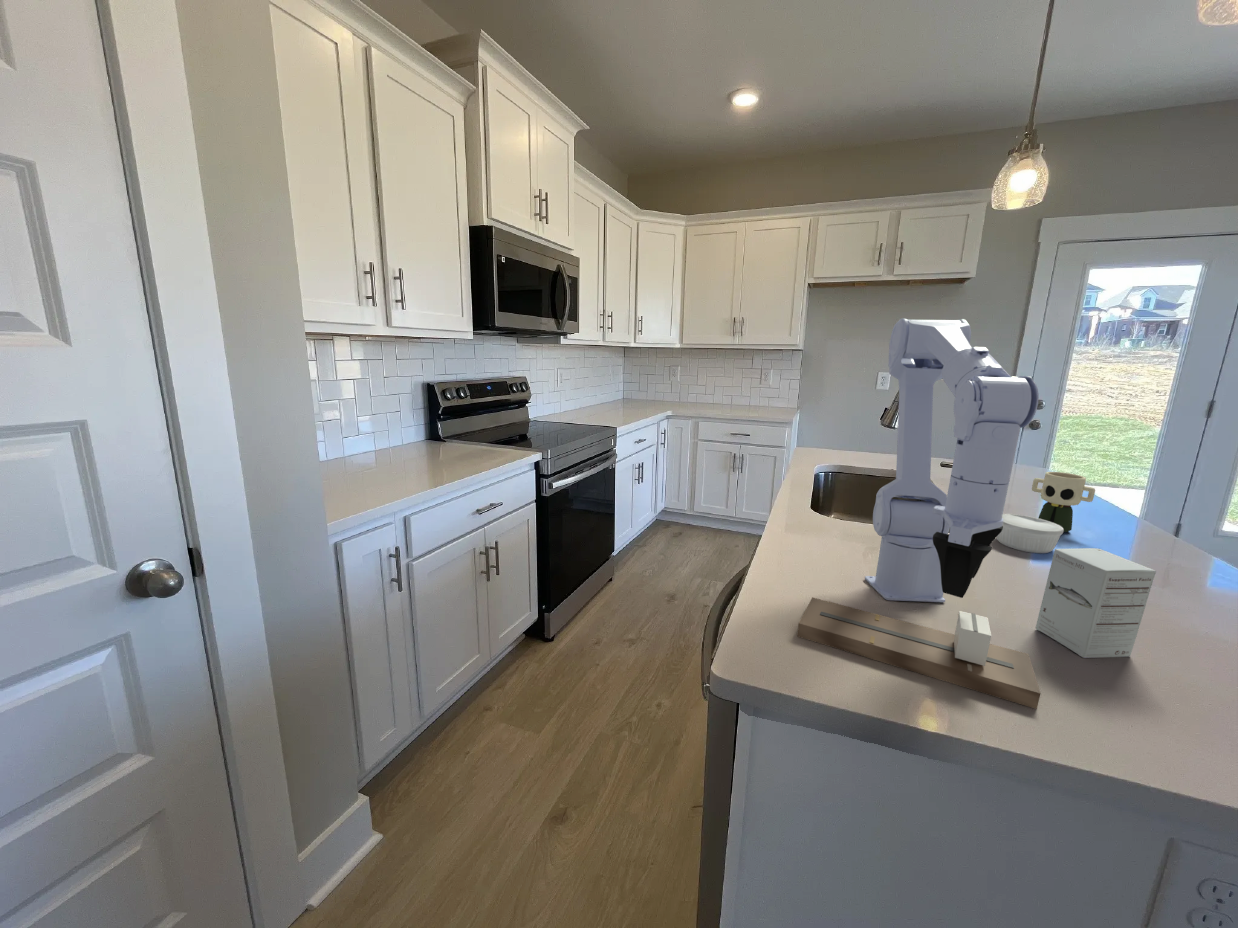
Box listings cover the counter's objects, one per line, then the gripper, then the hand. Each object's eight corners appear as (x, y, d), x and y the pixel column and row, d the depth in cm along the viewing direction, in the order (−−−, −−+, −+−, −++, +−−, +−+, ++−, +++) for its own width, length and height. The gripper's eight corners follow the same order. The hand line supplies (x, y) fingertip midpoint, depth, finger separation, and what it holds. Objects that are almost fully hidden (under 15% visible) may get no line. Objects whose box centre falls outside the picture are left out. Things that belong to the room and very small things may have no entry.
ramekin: (1053, 543, 108) (1058, 520, 107) (1063, 560, 99) (1069, 535, 98) (989, 532, 114) (994, 510, 113) (993, 547, 105) (998, 523, 104)
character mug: (1019, 525, 119) (1030, 472, 116) (1028, 520, 123) (1040, 468, 121) (1079, 539, 111) (1093, 482, 108) (1087, 533, 115) (1101, 478, 112)
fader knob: (981, 645, 64) (987, 616, 63) (984, 665, 60) (991, 634, 59) (953, 638, 66) (959, 609, 65) (954, 657, 62) (960, 627, 61)
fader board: (1025, 667, 64) (1028, 653, 64) (1036, 708, 56) (1040, 692, 56) (810, 609, 77) (812, 596, 77) (797, 636, 70) (798, 622, 69)
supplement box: (1032, 629, 73) (1051, 547, 71) (1079, 628, 74) (1100, 547, 71) (1082, 659, 66) (1105, 569, 63) (1133, 658, 67) (1159, 569, 64)
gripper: (952, 464, 68) (935, 558, 71) (926, 482, 58) (908, 592, 61) (1017, 473, 63) (997, 574, 66) (1002, 495, 53) (979, 613, 56)
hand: (959, 584), depth 63 cm, fingers open, 7 cm apart
